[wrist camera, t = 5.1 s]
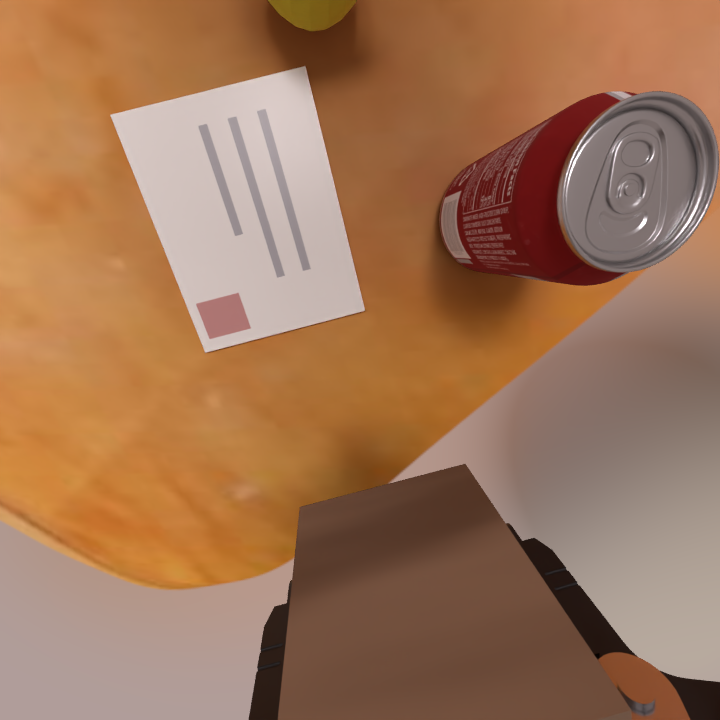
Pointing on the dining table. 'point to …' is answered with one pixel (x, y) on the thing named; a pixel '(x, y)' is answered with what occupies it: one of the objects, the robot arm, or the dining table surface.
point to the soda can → (586, 191)
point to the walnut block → (429, 615)
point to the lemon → (313, 12)
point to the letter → (245, 207)
